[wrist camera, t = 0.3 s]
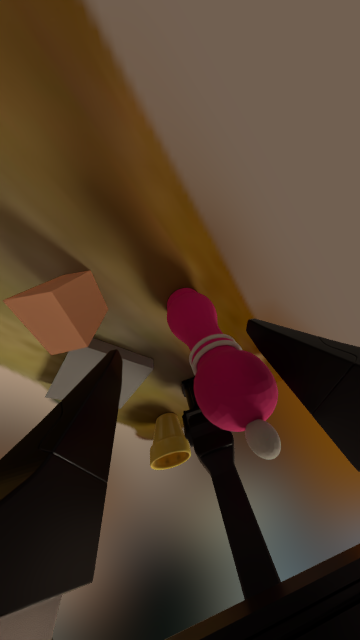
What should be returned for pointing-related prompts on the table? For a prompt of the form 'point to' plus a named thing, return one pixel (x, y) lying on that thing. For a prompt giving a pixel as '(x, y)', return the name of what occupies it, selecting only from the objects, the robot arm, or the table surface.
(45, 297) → the keyed peg
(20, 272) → the table surface
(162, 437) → the plant pot
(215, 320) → the pink bowling pin
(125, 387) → the socket block
